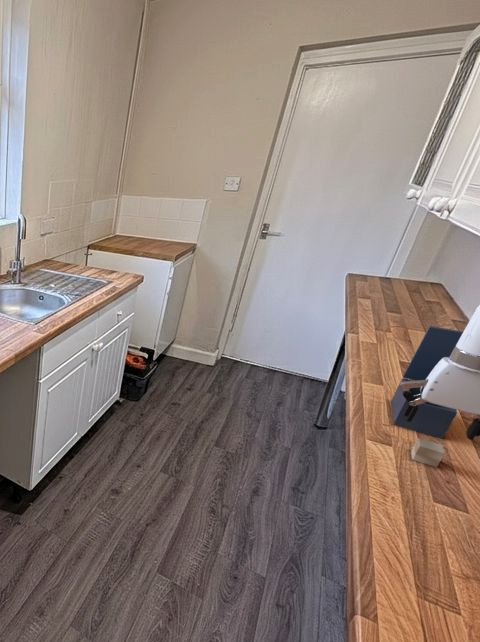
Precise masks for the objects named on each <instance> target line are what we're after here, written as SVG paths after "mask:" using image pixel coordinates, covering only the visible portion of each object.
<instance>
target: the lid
mask: <svg viewBox="0 0 480 642" xmlns="http://www.w3.org/2000/svg"><path fill="white" fill-rule="evenodd" d="M463 332H464V330H463V331H462V330H456V329H450V328H445V327H439V326H432V325H429V326H428V328H427V330H426V332H425V334H424V336H423V338H422V339H421V341H420V343H419V345H418V347H417V349H416V350H415V351H414V354H413V356H412V358H411V360H410V362H409V364H408V366H407V367H406V370H405V371H404V373H403V374H402V377H403V379H408V380H410V379H413V380H417V381H419V380H426V378H427V377H428V375H429V374H430V373H431V371H432V370H433V368H434V367H435V366H436V365H437V364H438V362H439V361H440V360H441V359H442V358H444V357H448V358H449V357H450V355H451V353H452V352H453V350H454V348H455V346H456V344H457V343H458V341H459V339H460V337H461V335H462V334H463Z"/></svg>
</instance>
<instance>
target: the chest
mask: <svg viewBox="0 0 480 642" xmlns="http://www.w3.org/2000/svg"><path fill="white" fill-rule="evenodd" d="M404 381H412V380H410V379H408V378H404V377H403V378H401V380H400V382H399V383H398V386H397V388H396V390H395V392H394V394H393V397H392V398H391V400H390V405H391V415H392V423H393V426H397V427H401V428H404V429H408V430H411V431H415V432H418V433H422V434H426V435H429V436H433V437H435V438H439V439H444V437H445V436H446V434H447V432H448V430H449V428H450V426H451V425H452V423H453V421H454V419H455V418H456V417H457V414H458V410H455V409H451V408H447V407H444V406H440V405H436V404H433V403H429V402H426V403H423V404H419V405H418V410H417V412H416V414H415V415H414V417H413V419H412V421H411V422H408V421H406V417H405V416H404V415H403V413H404V410H405V409H406V407H407V405H408V401H407V400H406V399H405V397H404V396H403V393H402V389H401V385H400V383H401V382H404ZM420 389H421V387H419V388H410V389H409V390H410V392H411V394H412V395H413V396H414V395H417V394H420V393H421V392H420Z"/></svg>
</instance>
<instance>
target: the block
mask: <svg viewBox="0 0 480 642" xmlns="http://www.w3.org/2000/svg"><path fill="white" fill-rule="evenodd" d="M410 454H411V460H412V461H415V462H418V463H421V464H424V465H428V466H431V467H434V468H438V467H439V464H440V462H442V460H443V457H444V456H445V454H446V453H445V448H444V445H443V444H440V443H437V442H434V441H430V440H427V439H423V438H421V437H418V438H417V439H416V441H415V443H414V445H413V447H412V449H411V451H410Z"/></svg>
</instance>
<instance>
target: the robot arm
mask: <svg viewBox="0 0 480 642" xmlns="http://www.w3.org/2000/svg"><path fill="white" fill-rule="evenodd" d="M400 382H401V381H400ZM400 382H399V384H400V385H401V389H402V393H403V396H404V397H405V399H406V400H407V401H408V405H407V407H406V409H405V410H404V413H403V415H404V416H405V417H406V421H408V422H411V421H412V419H413V417H414V415H415V414H416V412H417V410H418V405H419V404H423V403H426V402H429V403H433V404H436V405H440V406H444V407H447V408H451V409H455V410H457V411H460V412H463V413H467V414H471V415H476V418H474V419H473V420H472V421H471V423H470V425H469V427H468V428H467V429H466V431H465V435H466V437H467V439H468V440H471V441H473V440H475V438H476V437H480V304H479V305H478V306H477V307H476V309H475V310H474V312H473V313H472V316H471V317H470V319H469V321H468V322H467V325H466V326H465V328H464V330H463V334H462V335H461V337H460V339H459V341H458V343H457V344H456V346H455V348H454V350H453V352H452V353H451V355H450V357H449V358H448V357H444V358H442V359H441V360H440V361H439V362H438V364H437V365H436V366H435V367H434V368H433V370H432V371H431V373H430V374H429V375H428V377H427V378H426V380H419V381H404V382H401V383H400ZM419 387H421V389H420V392H421V393H420V394H417V395H414V396H413V395H412V394H411V392H410V390H409V389H410V388H419Z"/></svg>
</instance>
